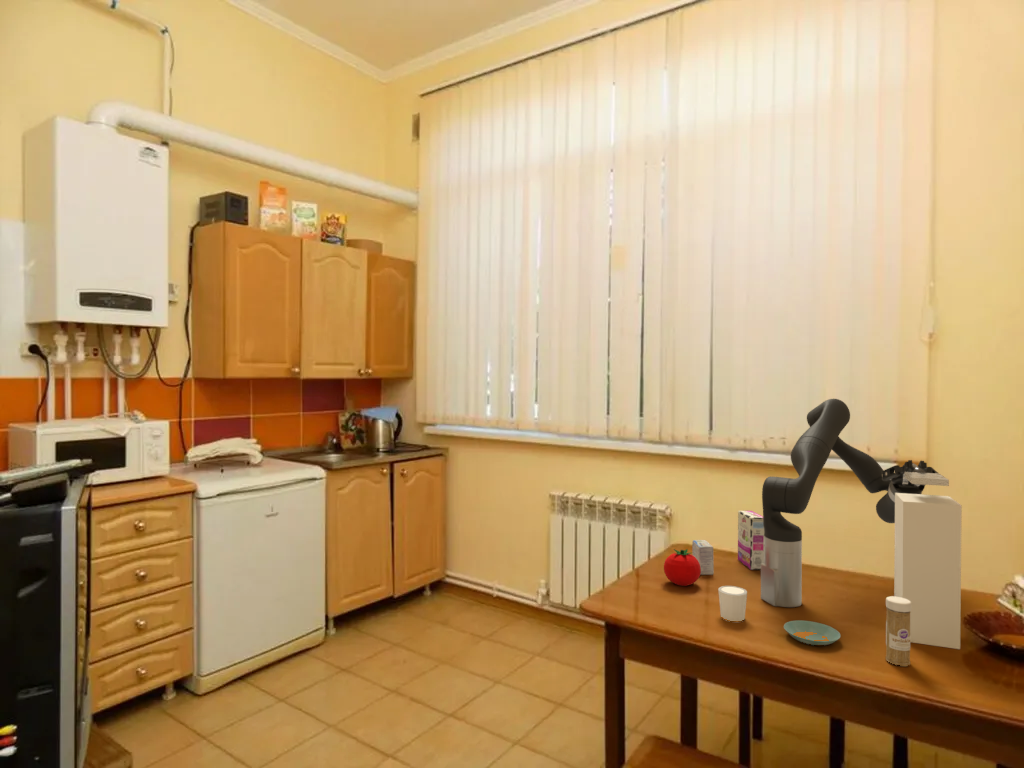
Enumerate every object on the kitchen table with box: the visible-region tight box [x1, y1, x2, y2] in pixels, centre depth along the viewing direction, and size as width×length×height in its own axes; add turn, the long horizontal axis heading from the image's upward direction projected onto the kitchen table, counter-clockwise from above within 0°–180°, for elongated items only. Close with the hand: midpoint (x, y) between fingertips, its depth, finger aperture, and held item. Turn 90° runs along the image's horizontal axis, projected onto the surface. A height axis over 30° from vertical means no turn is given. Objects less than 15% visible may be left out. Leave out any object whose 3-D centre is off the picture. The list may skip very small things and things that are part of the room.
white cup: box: [717, 585, 748, 622], centre depth 155 cm, size 7×7×7 cm
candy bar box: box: [737, 510, 764, 571], centre depth 197 cm, size 11×5×16 cm, turn 1°
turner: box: [905, 462, 950, 487], centre depth 150 cm, size 21×7×2 cm, turn 156°
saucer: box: [783, 619, 842, 646], centre depth 143 cm, size 12×12×2 cm
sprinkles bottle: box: [885, 595, 911, 667], centre depth 131 cm, size 5×5×14 cm
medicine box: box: [691, 539, 715, 576], centre depth 191 cm, size 8×4×9 cm, turn 179°
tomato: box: [663, 548, 701, 587], centre depth 179 cm, size 10×10×10 cm
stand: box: [893, 493, 963, 650], centre depth 144 cm, size 11×11×32 cm
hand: (916, 464), depth 154 cm, fingers closed on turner, 2 cm apart
